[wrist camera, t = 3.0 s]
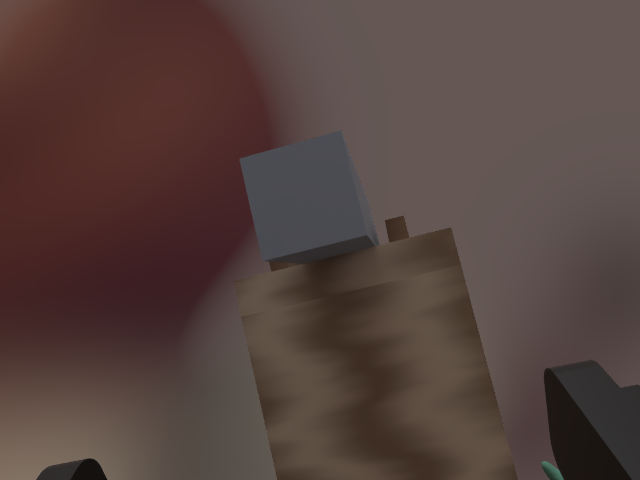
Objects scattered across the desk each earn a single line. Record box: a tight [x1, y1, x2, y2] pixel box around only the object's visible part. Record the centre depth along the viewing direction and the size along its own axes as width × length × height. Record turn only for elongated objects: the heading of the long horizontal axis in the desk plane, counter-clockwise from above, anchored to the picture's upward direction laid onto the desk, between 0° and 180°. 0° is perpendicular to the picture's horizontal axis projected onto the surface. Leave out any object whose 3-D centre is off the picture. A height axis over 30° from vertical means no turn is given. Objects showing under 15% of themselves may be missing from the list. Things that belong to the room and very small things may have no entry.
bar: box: [240, 131, 379, 264], centre depth 29 cm, size 4×22×4 cm, turn 171°
